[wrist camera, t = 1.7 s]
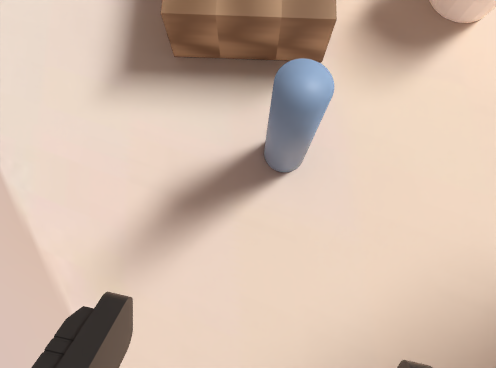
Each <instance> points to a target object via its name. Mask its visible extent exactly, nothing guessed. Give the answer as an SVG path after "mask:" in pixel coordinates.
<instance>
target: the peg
mask: <svg viewBox="0 0 496 368" xmlns="http://www.w3.org/2000/svg"><path fill="white" fill-rule="evenodd" d="M333 92H334V81H333V78H332V75H331V74H330V72H329V71H328V69H327V68H326V67H325V66H323V65H322V64H321V63H319V62H317V61H314V60H311V59H305V58H300V59H294V60H291V61H289V62H287V63H285V64H284V65H283V66H282V67H281V68H280V69H279V70H278V72H277V73H276V76H275V79H274V85H273V92H272V99H271V106H270V114H269V121H268V128H267V135H266V142H265V149H264V157H265V160H266V162H267V164H268V165H269V166H270V167H271V168H272V169H274V170H276V171H278V172H290V171H293V170H295V169H296V168H298V167H299V166H300V164H301V163H302V161H303V159H304V157H305V154H306V152H307V150H308V148H309V146H310V143H311V141H312V139H313V137H314V135H315V133H316V130H317V128H318V126H319V124H320V122H321V120H322V117H323V115H324V113H325V111H326V109H327V107H328V104H329V102H330V100H331V98H332V95H333Z"/></svg>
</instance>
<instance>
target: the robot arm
mask: <svg viewBox="0 0 496 368" xmlns="http://www.w3.org/2000/svg"><path fill="white" fill-rule="evenodd" d="M132 331H133V300H132V297H128V296H124V295H120V294H115V293H111V292H106V293H105V294H104V295H103V296H102V297H101V299H100V300H99V302H98V304H97V305H96V307H95V308H94V309H93V308H89V307H84V306H83V307H82V308H80V309H79V310H77V311H76V312H75V313H73V314H72V315H71V316H70V317H68V318H67V319H66V320H65V321H64V323H63V324H62V326H61V327H60V328H59V330H58V331H57V333H56V334H55V336H54V338H53V339H52V340H51V341H50V343H49V344H48V345H47V347H46V348H45V351H44V353H42V354H41V355H40V357H39V358H38V359H37V361H36V362H35V364H34V365H33V366H32V368H119V366H120V364H121V362H122V360H123V358H124V356H125V354H126V352H127V350H128V347H129V344H130V341H131V337H132ZM397 368H432V367H431V366H428V365H424V364H419V363H415V362H411V361H406V360H403V361H401V362H400V364H399V366H398V367H397Z"/></svg>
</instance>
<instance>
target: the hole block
mask: <svg viewBox="0 0 496 368" xmlns="http://www.w3.org/2000/svg"><path fill="white" fill-rule="evenodd" d="M161 15H162V19H163V22H164V25H165V28H166V31H167V35H168V38H169V41H170V44H171V47H172V51H173V54H174V56H176V57H204V58H232V59H260V60H288V61H291V60H294V59H300V58H305V59H311V60H314V61H317V62H322V60H323V57H324V55H325V52H326V49H327V46H328V43H329V40H330V37H331V34H332V31H333V28H334V25H335V22H336V19H337V17H336V0H162V7H161Z"/></svg>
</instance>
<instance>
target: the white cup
mask: <svg viewBox="0 0 496 368" xmlns="http://www.w3.org/2000/svg"><path fill="white" fill-rule="evenodd" d="M429 1H430V3H431V5H432V6H433V8H434V9H435V10H436V11H437V12H438V13H439V14H440V15H442V16H443V17H444V18H447V19H449V20H452V21H454V22H460V23H471V22H475V21H478V20H481V19H482V18H483V17H485V16H486V15H487V14H488V13H489V12H490V11H492V10H493V9H494V8H495V7H496V0H429Z"/></svg>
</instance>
